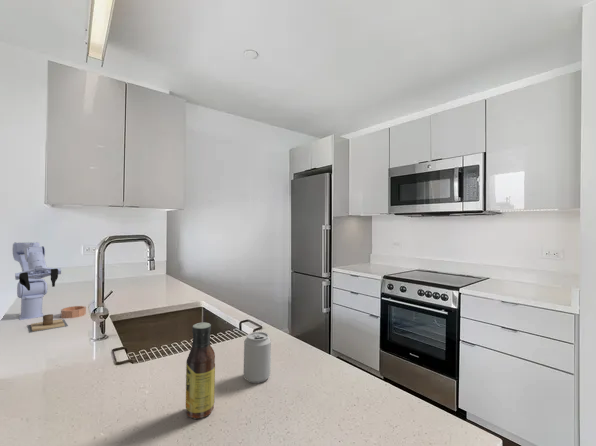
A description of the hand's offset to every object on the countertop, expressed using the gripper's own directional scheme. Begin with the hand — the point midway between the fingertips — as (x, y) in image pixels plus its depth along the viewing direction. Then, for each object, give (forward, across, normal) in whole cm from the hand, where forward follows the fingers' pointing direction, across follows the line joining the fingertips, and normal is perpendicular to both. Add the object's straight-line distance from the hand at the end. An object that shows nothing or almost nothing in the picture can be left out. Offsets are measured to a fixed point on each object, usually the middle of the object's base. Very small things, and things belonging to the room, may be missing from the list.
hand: (41, 286), depth 121 cm
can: (+88, +36, -34) cm, 101 cm away
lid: (+9, +1, +14) cm, 16 cm away
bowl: (0, +12, +21) cm, 24 cm away
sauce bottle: (+90, +17, -37) cm, 99 cm away
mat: (+9, +1, +14) cm, 17 cm away
